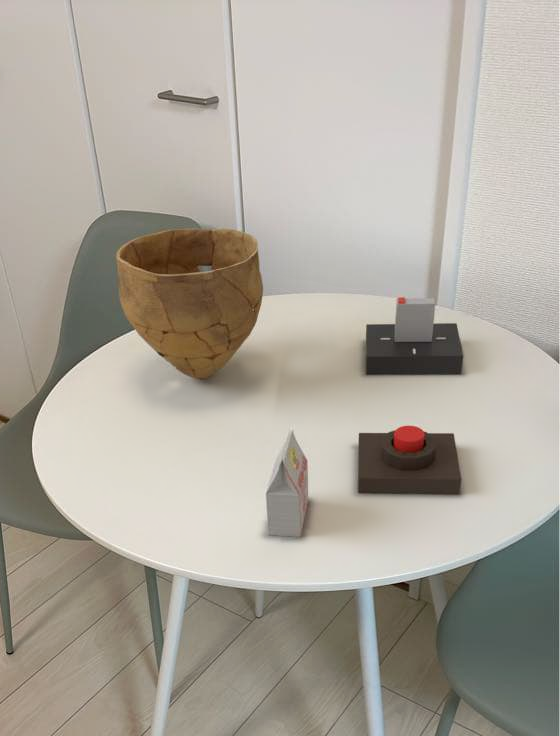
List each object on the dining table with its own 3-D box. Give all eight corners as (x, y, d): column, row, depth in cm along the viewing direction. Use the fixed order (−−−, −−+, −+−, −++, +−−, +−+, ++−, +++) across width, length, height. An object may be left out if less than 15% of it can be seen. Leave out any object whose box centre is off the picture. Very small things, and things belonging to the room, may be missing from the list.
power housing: (451, 447, 97) (455, 420, 95) (459, 494, 90) (463, 466, 87) (358, 446, 99) (359, 420, 96) (357, 492, 91) (358, 465, 89)
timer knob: (430, 335, 115) (434, 296, 111) (431, 341, 113) (435, 301, 109) (394, 336, 116) (396, 297, 112) (394, 342, 114) (397, 302, 110)
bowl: (116, 368, 120) (91, 241, 107) (229, 335, 126) (218, 211, 113) (168, 426, 105) (146, 287, 93) (293, 385, 112) (288, 250, 99)
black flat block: (454, 340, 120) (456, 322, 118) (461, 374, 112) (463, 354, 109) (365, 341, 122) (366, 323, 119) (365, 374, 113) (366, 355, 111)
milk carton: (268, 534, 86) (263, 462, 80) (278, 499, 91) (274, 428, 85) (300, 537, 86) (298, 464, 79) (308, 501, 91) (306, 430, 84)
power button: (422, 437, 93) (423, 425, 92) (424, 453, 90) (425, 441, 89) (393, 437, 93) (393, 425, 92) (393, 453, 91) (394, 441, 90)
